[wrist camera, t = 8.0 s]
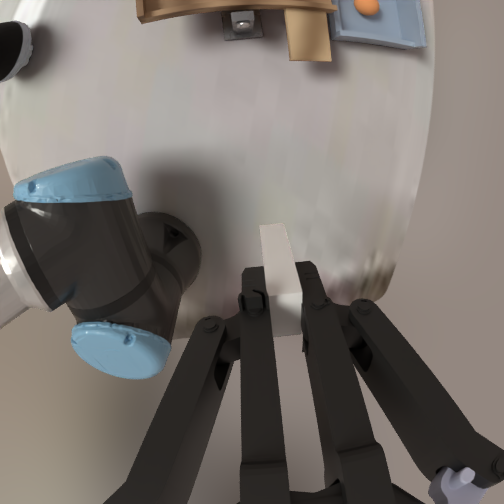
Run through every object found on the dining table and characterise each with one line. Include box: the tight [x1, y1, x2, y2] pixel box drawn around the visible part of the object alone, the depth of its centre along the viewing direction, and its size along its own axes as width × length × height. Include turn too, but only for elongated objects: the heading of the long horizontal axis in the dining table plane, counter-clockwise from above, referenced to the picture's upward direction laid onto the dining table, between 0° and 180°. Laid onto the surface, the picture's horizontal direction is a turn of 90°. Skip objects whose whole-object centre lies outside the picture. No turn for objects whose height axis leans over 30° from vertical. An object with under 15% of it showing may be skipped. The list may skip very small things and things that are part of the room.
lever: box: [136, 0, 338, 62], centre depth 21 cm, size 22×13×3 cm, turn 96°
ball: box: [354, 0, 380, 16], centre depth 24 cm, size 4×4×4 cm
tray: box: [328, 0, 426, 50], centre depth 23 cm, size 12×12×6 cm
